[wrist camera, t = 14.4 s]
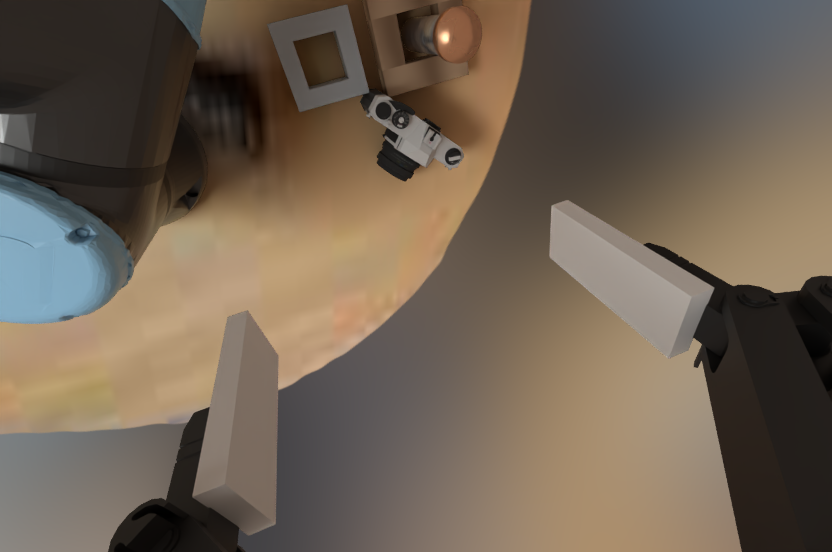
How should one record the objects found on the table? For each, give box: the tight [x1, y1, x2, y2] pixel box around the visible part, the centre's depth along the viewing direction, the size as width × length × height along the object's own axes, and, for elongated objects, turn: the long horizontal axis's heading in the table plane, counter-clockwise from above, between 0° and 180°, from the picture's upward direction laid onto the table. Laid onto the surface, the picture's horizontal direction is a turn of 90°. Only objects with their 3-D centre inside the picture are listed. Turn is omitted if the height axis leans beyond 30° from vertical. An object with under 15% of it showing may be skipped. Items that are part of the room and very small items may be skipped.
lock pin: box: [400, 6, 482, 64], centre depth 35 cm, size 4×4×13 cm
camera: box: [360, 89, 464, 181], centre depth 43 cm, size 13×8×9 cm, turn 58°
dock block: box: [362, 0, 469, 97], centre depth 39 cm, size 10×10×2 cm
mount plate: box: [267, 4, 369, 112], centre depth 38 cm, size 8×8×2 cm
